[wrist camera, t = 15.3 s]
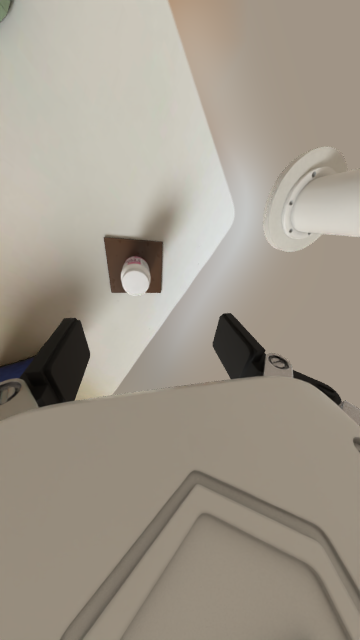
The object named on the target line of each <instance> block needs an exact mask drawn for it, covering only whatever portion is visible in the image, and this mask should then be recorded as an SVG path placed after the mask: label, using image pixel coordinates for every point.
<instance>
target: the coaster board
mask: <svg viewBox="0 0 360 640" xmlns="http://www.w3.org/2000/svg"><path fill="white" fill-rule="evenodd" d="M104 242H105V249H106V256H107V263H108V271H109V278H110V285H111V292H112V293H127V292H126V291H125V290H124V288H123V286H122V281H121V272H122V269H123V265H124V263H125V261H126V260H127V259H128V258H130V257H133V256H137V257H141V258H142V259H144V260H145V261H146V263H147V264H148V267H149V271H150V276H151V281H150V284H149V288H148V290H147V291H146V292H145V293H161V272H162V244H163V242H157V241H144V240H132V239H120V238H107V237H104Z"/></svg>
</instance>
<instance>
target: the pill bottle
mask: <svg viewBox="0 0 360 640" xmlns="http://www.w3.org/2000/svg"><path fill="white" fill-rule="evenodd" d="M121 281H122V286H123V288H124V290H125V291H126V292H127V293H129V294H131V295H134V296H139V295H142V294H144V293H145V292H146V291H147V290H148V288H149V284H150V281H151V276H150V271H149V267H148V264H147V263H146V261H145V260H144V259H142V258H141V257H137V256H133V257H130V258H128V259H127V260H126V261H125V263H124V265H123V269H122V272H121Z"/></svg>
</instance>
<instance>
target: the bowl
mask: <svg viewBox="0 0 360 640" xmlns="http://www.w3.org/2000/svg"><path fill="white" fill-rule="evenodd" d="M10 1H11V0H0V21H1V20H2V19H3V18H4V17H5V16H6V15H7V12H8V9H9V5H10Z"/></svg>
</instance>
